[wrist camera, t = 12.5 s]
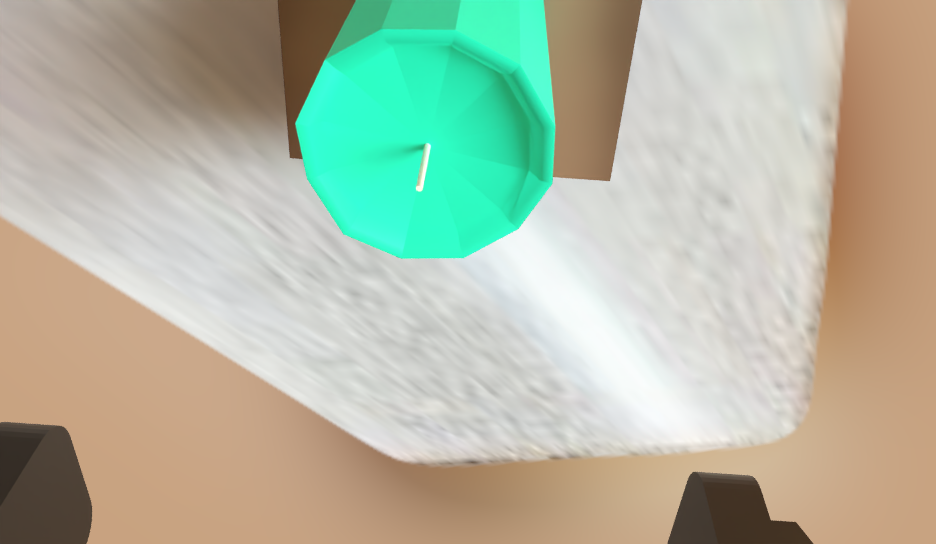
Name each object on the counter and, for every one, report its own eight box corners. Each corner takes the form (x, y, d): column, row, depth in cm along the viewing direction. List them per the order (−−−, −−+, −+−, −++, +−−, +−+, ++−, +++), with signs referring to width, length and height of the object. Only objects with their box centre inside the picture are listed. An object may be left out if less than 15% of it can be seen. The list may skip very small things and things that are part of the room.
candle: (519, -111, 25) (522, 14, 15) (562, 71, 28) (587, 272, 18) (336, -55, 26) (229, 94, 16) (398, 113, 29) (339, 323, 20)
